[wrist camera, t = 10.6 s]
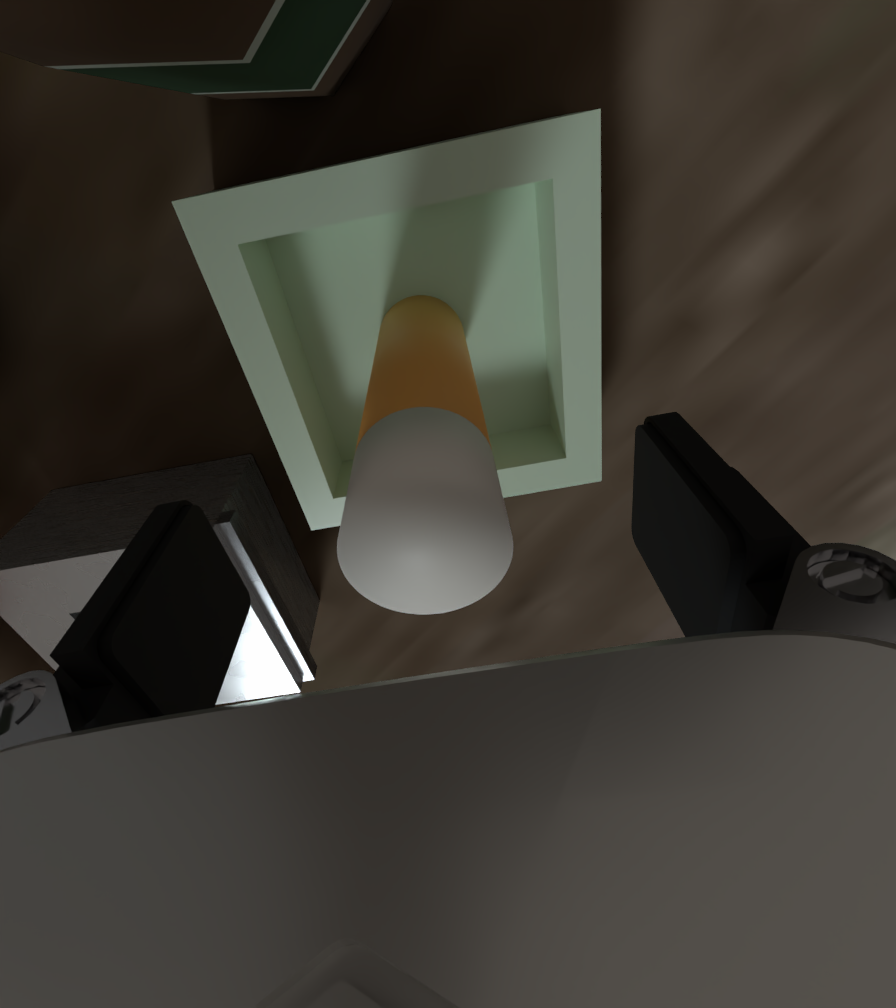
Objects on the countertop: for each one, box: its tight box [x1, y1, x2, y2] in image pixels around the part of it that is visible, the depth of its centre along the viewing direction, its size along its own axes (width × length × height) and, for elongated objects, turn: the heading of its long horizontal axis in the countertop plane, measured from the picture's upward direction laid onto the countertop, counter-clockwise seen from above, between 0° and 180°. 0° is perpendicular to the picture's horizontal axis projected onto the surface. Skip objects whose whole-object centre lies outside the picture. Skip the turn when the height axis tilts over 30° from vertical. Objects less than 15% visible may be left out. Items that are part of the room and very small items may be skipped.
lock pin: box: [337, 295, 513, 614], centre depth 15 cm, size 3×3×13 cm
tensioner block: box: [0, 454, 320, 705], centre depth 25 cm, size 10×11×6 cm
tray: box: [172, 109, 602, 531], centre depth 20 cm, size 12×12×4 cm
